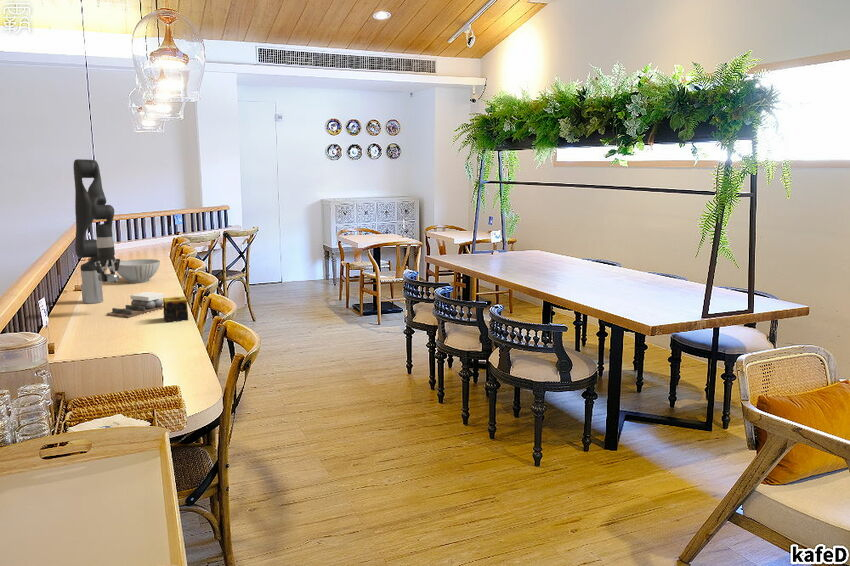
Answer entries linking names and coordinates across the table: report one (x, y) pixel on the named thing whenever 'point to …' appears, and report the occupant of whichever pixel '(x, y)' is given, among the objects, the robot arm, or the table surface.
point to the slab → (147, 296)
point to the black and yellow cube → (175, 309)
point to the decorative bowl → (138, 269)
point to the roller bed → (137, 308)
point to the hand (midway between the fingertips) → (108, 280)
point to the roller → (110, 278)
